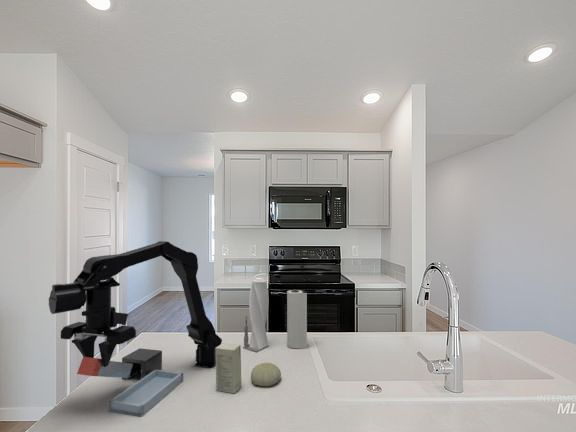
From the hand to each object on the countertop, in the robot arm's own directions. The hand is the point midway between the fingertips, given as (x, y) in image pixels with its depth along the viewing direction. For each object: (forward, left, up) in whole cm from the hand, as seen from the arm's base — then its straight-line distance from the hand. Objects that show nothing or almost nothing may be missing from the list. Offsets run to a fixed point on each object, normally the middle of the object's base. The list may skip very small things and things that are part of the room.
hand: (98, 365), depth 84 cm
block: (+1, -18, -11) cm, 21 cm away
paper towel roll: (-41, -53, -11) cm, 68 cm away
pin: (0, -2, -4) cm, 5 cm away
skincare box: (-29, -17, -11) cm, 35 cm away
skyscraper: (-27, -49, -11) cm, 57 cm away
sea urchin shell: (-38, -24, -11) cm, 46 cm away
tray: (-9, -8, -11) cm, 16 cm away
